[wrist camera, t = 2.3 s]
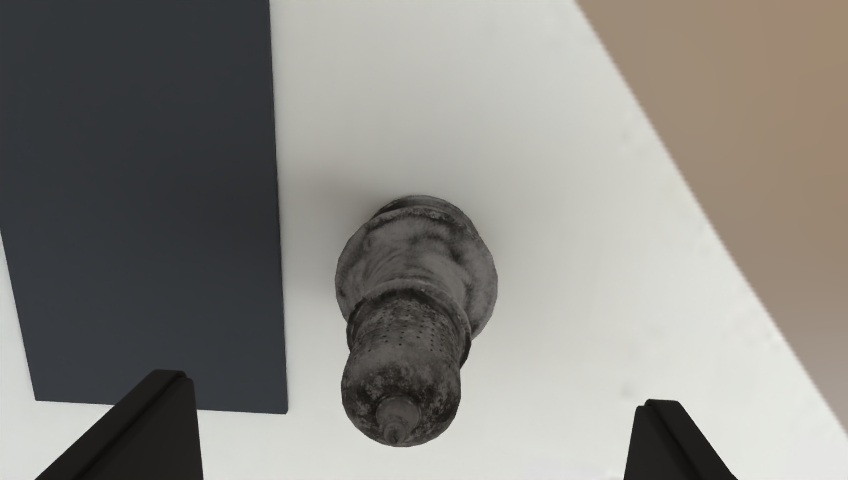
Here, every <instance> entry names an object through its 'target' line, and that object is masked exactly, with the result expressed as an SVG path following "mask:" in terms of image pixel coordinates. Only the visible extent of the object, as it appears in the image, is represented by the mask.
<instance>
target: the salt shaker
mask: <svg viewBox="0 0 848 480" xmlns="http://www.w3.org/2000/svg"><path fill="white" fill-rule="evenodd" d="M497 283H498V276H497V273H496V269H495V265H494V262H493V258H492V255H491V254H490V252H489V250H488V249H487V247H486V245H485V244H484V242H483V240H482V239H481V237H479V234H478V232H477V230H476V228H475V227H474V225H473V223H472V222H471V220H470V219H469V218H468V217H467V216H466V215H465V214H464V213H463V212H462V211H461V210H460V209H459V208H458V207H456V206H454V205H452V204H450V203H448V202H446V201H445V200H442V199H438V198H434V197H430V196H409V197H405V198H402V199H398V200H395V201H393V202H391V203H390V204H388V205H386V206H385V207H383V208H381V209H380V210H379V211H378V212H377V213H376V214H375V215H374V216H373V217H372V218H371V219H370V220H369V222H367V223H365V224H363V225H362V226H361V227H360V228H359V230H358V231H357V232H356V233H355V234H354V235H353V236H352V237H351V238H350V239H349V240H348V242H347V244H346V246H345V248H344V250H343V251H342V253H341V255H340V257H339V260H338V264H337V269H336V274H335V289H336V299H337V302H338V304H339V307H340V310H341V312H342V315H343V317H344V319H345V320H346V322H347V328H346V334H347V345H348V347H349V350H350V354H349V357H348V360H347V363H346V366H345V368H344V372H343V376H342V381H341V393H342V404H343V406H344V409H345V411H346V414H347V416H348V418H349V419H350V420H351V422H352V423H353V424H354V426H355V427H356V428H357V429H359V430H360V431H361V432H362V433H364V434H365V435H366V436H367V437H369V438H370V439H373V440H375V441H377V442H379V443H381V444H384V445H388V446H393V447H411V446H416V445H421V444H424V443H426V442H428V441H430V440H432V439H434V438H436V437H438V436H439V435H440V434H441V433H443V432H444V431H445V430H446V429H447V428H448V427H449V425H450V424H451V422H452V421H453V419H454V418H455V415H456V412H457V409H458V406H459V402H460V399H461V383H460V369H461V367H462V366H463V364H464V363H465V361H466V360H467V357H468V354H469V351H470V347H471V341H472V340H473V339H474V338H475V337H476V336H477V335H479V334H480V333H481V331H482V330H483V328H484V327H485V325H486V324H487V322H488V320H489V319H490V317H491V316H492V312H493V309H494V306H495V303H496V299H497Z"/></svg>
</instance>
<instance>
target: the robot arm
mask: <svg viewBox="0 0 848 480" xmlns="http://www.w3.org/2000/svg"><path fill="white" fill-rule="evenodd" d="M35 480H203V469H202V459H201V449H200V439H199V429H198V419H197V408H196V398H195V388H194V382H193V380H192V379H191V378H187V375H186V374H185V372H184V371H181V370H165V369H154V370H153V371H151V372H150V373H149V374H148V375H147V376H146V377H145V378H144V379H143V380H142V381H140V382H139V383H138V384H137V385H136V386H135V387H134V388H133V389H132V390H131V391H130V392H129V393H128V394H126V395H125V396H124V397H123V398H122V399H121V400H120V401H119V402H118V403H117V404H116V405H115V406H114V407H112V408H111V409H110V410H109V411H108V412H107V413H106V414H105V415H104V416H103V417H102V418H101V419H99V420H98V421H97V422H96V423H95V424H94V425H93V426H92V427H91V428H90V429H89V430H88V431H87V432H85V433H84V434H83V435H82V436H81V437H80V438H79V439H78V440H77V441H76V442H75V443H74V444H72V445H71V446H70V447H69V448H68V449H67V450H66V451H65V452H64V453H63V454H62V455H61V456H60V457H58V458H57V459H56V460H55V461H54V462H53V463H52V464H51V465H50V466H49V467H48V468H47V469H46V470H44V471H43V472H42V473H41V474H40V475H39V476H38V477H37V478H36V479H35ZM624 480H738V479H737V478H736V477H735V476H734V475H733V474H732V473H731V472H730V471H729V469H728V468H727V466H726V465H725V464H724V462H723V461H722V460H721V458H720V457H719V456H718V454H717V453H716V451H715V450H714V449H713V447H712V446H711V445H710V443H709V442H708V441H707V439H706V438H705V436H704V435H703V434H702V432H701V431H700V430H699V428H698V427H697V426H696V424H695V423H694V421H693V420H692V419H691V417H690V416H689V415H688V413H687V412H686V411H685V409H684V408H683V406H682V405H681V404H680V403H679V402H678V401H673V400H657V399H648V400H646V402H645V404H644V406H638V407H637V408H636V411H635V416H634V422H633V428H632V434H631V439H630V445H629V451H628V457H627V463H626V469H625V474H624Z"/></svg>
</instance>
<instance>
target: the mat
mask: <svg viewBox="0 0 848 480" xmlns="http://www.w3.org/2000/svg"><path fill="white" fill-rule="evenodd" d="M0 231H1V236H2V241H3V246H4V251H5V255H6V260H7V265H8V270H9V275H10V280H11V284H12V289H13V294H14V299H15V304H16V309H17V313H18V318H19V323H20V328H21V333H22V337H23V342H24V347H25V352H26V357H27V362H28V366H29V371H30V376H31V381H32V386H33V391H34V395H35V400H36V401H52V402H70V403H88V404H106V405H116V404H117V403H118V402H119V401H120V400H121V399H122V398H123V397H124V396H125V395H126V394H128V393H129V392H130V391H131V390H132V389H133V388H134V387H135V386H136V385H137V384H138V383H139V382H140V381H142V380H143V379H144V378H145V377H146V376H147V375H148V374H149V373H150V372H151V371H153V370H154V369H165V370H181V371H184V372H185V374H186V375H187V378H191V379H192V380H193V382H194V388H195V398H196V408H197V410H215V411H233V412H251V413H269V414H286V413H287V411H288V404H287V382H286V360H285V339H284V317H283V296H282V274H281V252H280V231H279V209H278V187H277V166H276V144H275V123H274V101H273V79H272V58H271V36H270V14H269V0H0Z"/></svg>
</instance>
